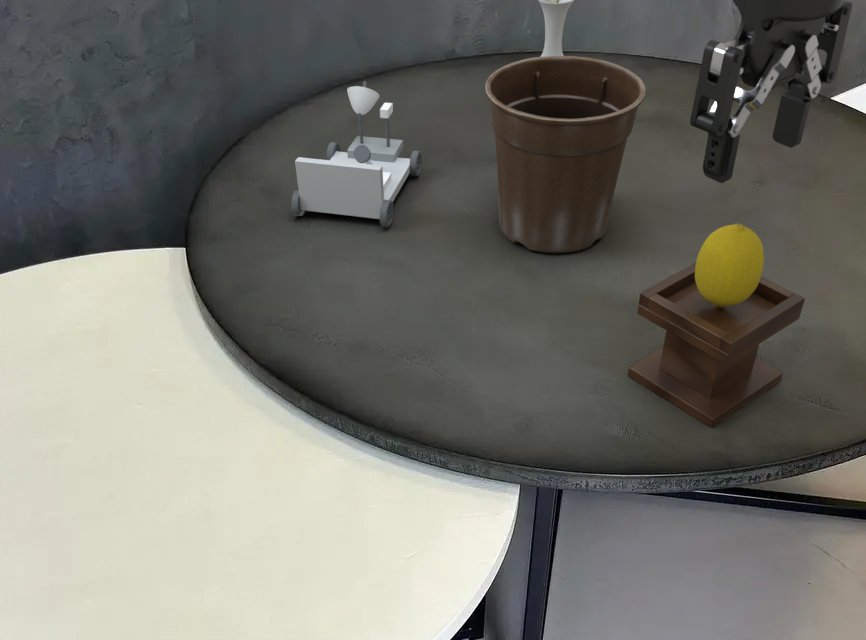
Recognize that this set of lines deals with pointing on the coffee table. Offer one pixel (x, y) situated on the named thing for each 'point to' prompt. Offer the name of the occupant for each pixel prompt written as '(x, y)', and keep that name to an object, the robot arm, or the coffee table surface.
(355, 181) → the grey toy rover
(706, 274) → the lemon
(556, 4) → the flower in vase
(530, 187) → the plant pot
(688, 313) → the stand
